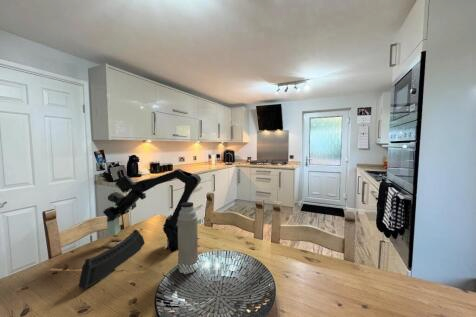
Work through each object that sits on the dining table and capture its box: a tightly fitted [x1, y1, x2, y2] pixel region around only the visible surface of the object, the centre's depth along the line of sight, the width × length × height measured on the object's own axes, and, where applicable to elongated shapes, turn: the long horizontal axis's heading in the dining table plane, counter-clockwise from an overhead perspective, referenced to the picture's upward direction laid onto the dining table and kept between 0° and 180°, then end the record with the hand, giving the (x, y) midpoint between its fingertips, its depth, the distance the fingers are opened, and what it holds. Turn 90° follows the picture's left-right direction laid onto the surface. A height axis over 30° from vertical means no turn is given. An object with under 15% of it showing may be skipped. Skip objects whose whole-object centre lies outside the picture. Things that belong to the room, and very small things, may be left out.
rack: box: [101, 238, 124, 249], centre depth 102 cm, size 6×8×2 cm
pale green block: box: [106, 216, 121, 236], centre depth 102 cm, size 4×4×11 cm
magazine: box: [78, 229, 145, 290], centre depth 84 cm, size 17×3×30 cm
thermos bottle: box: [177, 201, 199, 266], centre depth 83 cm, size 8×8×28 cm
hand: (110, 219), depth 101 cm, fingers closed on pale green block, 3 cm apart
